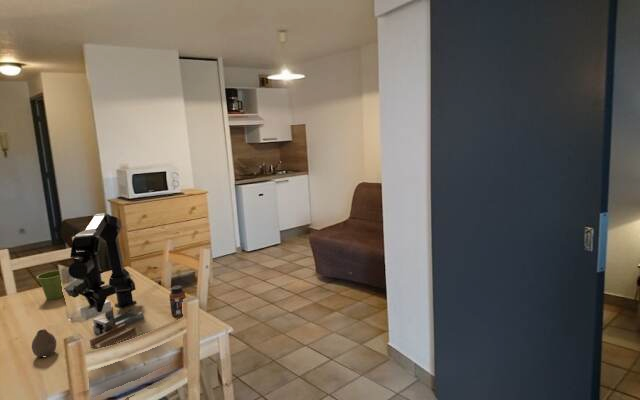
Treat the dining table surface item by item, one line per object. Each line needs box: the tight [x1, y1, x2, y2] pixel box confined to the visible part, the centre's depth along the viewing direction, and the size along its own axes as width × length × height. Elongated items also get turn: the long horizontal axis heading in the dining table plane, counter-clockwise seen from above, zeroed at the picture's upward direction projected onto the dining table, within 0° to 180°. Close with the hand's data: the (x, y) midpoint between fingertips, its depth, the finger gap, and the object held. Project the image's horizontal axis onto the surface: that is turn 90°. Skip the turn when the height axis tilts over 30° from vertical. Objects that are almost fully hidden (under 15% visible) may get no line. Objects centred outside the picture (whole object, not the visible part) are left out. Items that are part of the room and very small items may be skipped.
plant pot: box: [36, 269, 64, 300], centre depth 190 cm, size 12×12×11 cm
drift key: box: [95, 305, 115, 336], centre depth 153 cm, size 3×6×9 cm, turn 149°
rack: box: [89, 324, 137, 349], centre depth 147 cm, size 7×13×2 cm, turn 149°
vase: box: [31, 328, 57, 358], centre depth 138 cm, size 7×7×9 cm
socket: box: [92, 308, 145, 334], centre depth 158 cm, size 8×16×5 cm, turn 149°
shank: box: [79, 299, 112, 321], centre depth 145 cm, size 3×9×4 cm, turn 146°
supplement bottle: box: [169, 285, 186, 317], centre depth 164 cm, size 6×6×11 cm
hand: (97, 311), depth 145 cm, fingers closed on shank, 3 cm apart
